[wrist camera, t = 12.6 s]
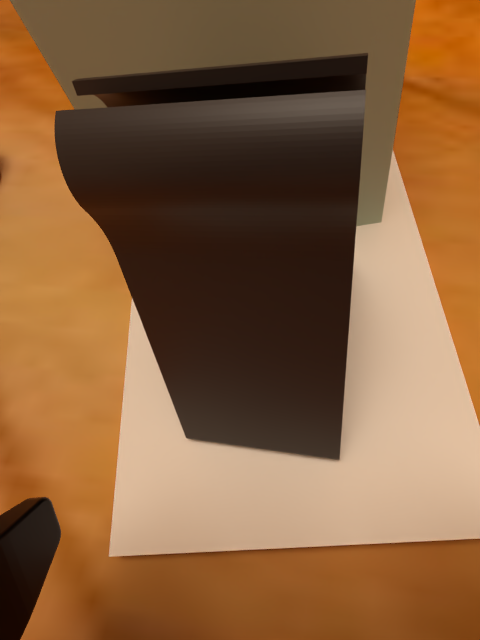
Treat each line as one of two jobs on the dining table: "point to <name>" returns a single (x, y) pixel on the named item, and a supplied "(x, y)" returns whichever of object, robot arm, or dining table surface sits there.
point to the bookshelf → (364, 326)
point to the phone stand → (233, 234)
